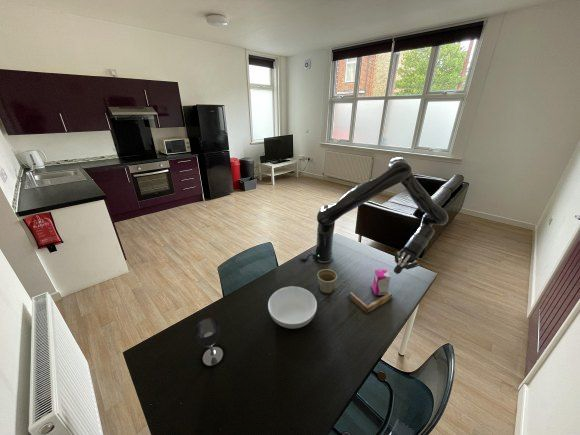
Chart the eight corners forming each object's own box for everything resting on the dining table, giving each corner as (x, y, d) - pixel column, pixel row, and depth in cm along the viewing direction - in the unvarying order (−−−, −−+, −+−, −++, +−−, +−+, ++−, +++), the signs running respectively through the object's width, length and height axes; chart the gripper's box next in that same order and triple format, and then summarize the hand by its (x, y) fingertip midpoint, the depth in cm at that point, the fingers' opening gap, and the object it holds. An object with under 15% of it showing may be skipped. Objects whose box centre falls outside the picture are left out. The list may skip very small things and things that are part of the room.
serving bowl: (258, 316, 104) (257, 304, 101) (291, 291, 117) (291, 280, 115) (294, 345, 91) (294, 333, 88) (326, 313, 105) (327, 302, 102)
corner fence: (366, 313, 105) (367, 308, 103) (349, 298, 113) (349, 293, 112) (391, 298, 112) (392, 294, 111) (373, 285, 121) (374, 280, 120)
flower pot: (314, 292, 116) (315, 278, 113) (319, 280, 124) (320, 267, 121) (333, 298, 113) (334, 283, 109) (337, 285, 121) (338, 271, 117)
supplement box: (383, 287, 119) (387, 269, 114) (386, 296, 114) (391, 277, 109) (371, 287, 120) (375, 268, 115) (374, 295, 114) (378, 276, 109)
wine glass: (212, 371, 82) (205, 341, 76) (196, 359, 86) (189, 330, 80) (228, 352, 88) (223, 323, 82) (213, 342, 92) (208, 314, 86)
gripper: (401, 235, 119) (381, 263, 118) (427, 247, 109) (405, 278, 108) (406, 241, 124) (386, 268, 123) (431, 253, 113) (410, 283, 113)
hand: (395, 272), depth 116 cm, fingers closed
